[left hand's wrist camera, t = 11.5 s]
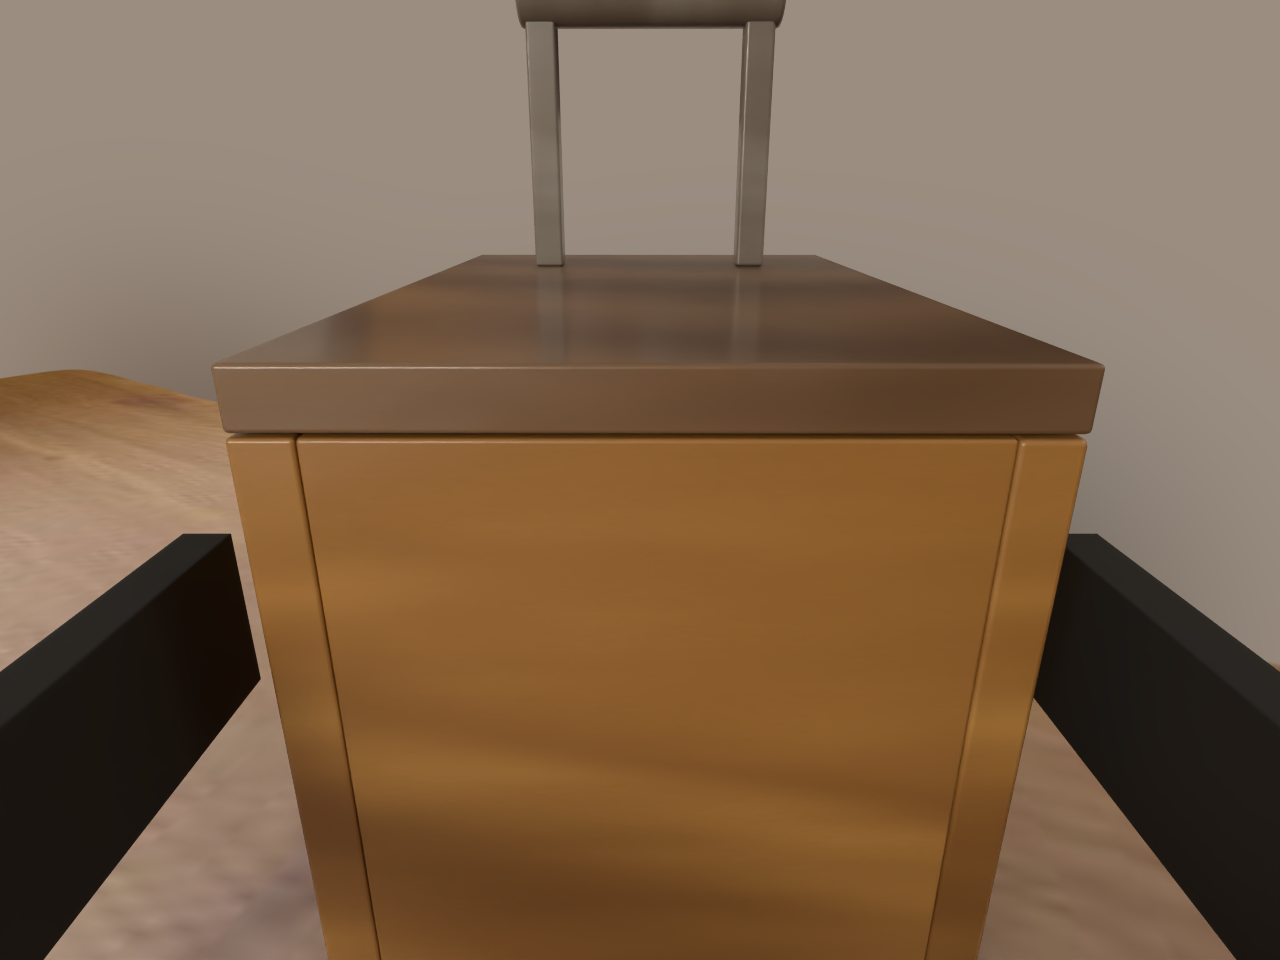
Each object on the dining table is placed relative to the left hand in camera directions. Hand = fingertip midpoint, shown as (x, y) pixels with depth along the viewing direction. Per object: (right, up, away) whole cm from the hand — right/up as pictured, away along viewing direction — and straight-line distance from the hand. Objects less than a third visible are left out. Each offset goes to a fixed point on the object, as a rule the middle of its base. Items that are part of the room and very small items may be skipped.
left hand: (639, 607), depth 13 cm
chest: (0, -5, +7) cm, 8 cm away
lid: (0, +5, +4) cm, 7 cm away
